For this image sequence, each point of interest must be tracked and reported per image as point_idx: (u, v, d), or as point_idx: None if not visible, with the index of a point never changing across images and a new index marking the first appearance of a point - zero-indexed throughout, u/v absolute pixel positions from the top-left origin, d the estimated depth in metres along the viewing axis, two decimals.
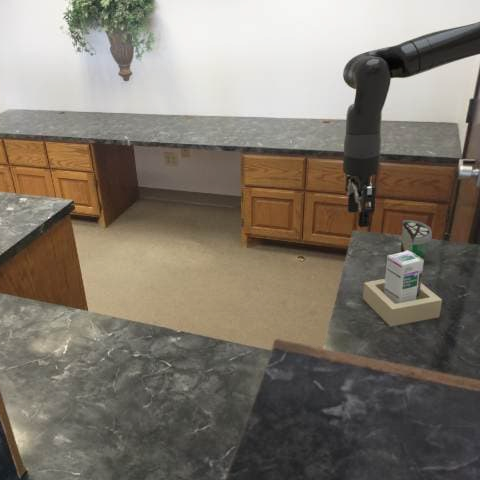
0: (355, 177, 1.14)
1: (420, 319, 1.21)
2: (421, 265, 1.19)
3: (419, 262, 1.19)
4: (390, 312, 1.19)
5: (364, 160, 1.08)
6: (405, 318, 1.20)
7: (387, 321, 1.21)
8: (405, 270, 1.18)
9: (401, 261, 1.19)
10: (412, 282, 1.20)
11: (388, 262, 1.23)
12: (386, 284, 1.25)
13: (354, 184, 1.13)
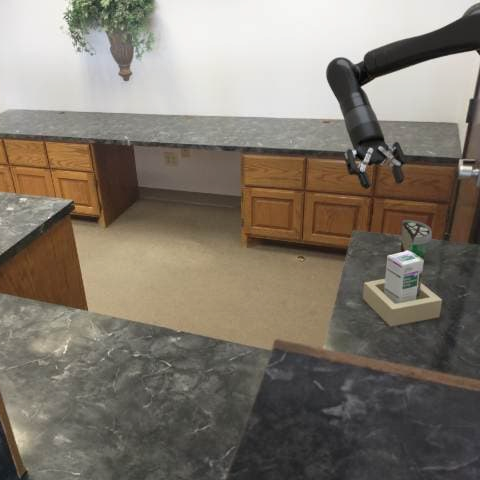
0: None
1: (420, 319, 1.21)
2: (421, 265, 1.19)
3: (419, 262, 1.19)
4: (390, 312, 1.19)
5: (349, 134, 1.29)
6: (405, 318, 1.20)
7: (387, 321, 1.21)
8: (405, 270, 1.18)
9: (401, 261, 1.19)
10: (412, 282, 1.20)
11: (388, 262, 1.23)
12: (386, 284, 1.25)
13: None
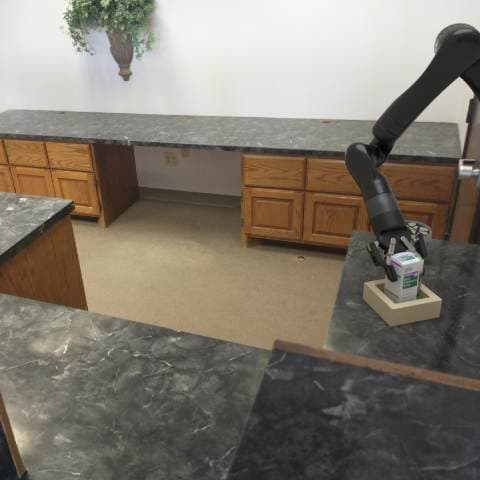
0: None
1: (420, 319, 1.21)
2: (421, 265, 1.19)
3: (419, 262, 1.19)
4: (390, 312, 1.19)
5: (371, 221, 1.26)
6: (405, 318, 1.20)
7: (387, 321, 1.21)
8: (405, 270, 1.18)
9: (401, 261, 1.19)
10: (412, 282, 1.20)
11: None
12: (386, 284, 1.25)
13: None
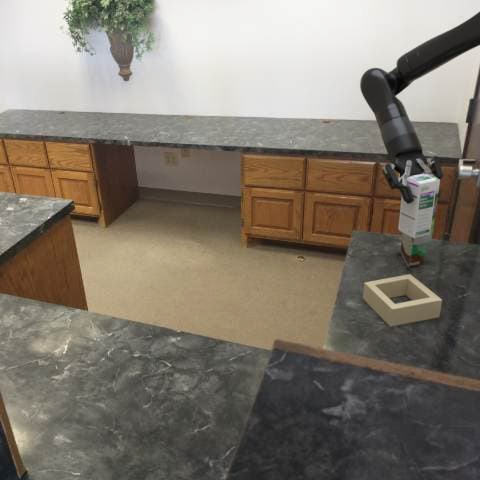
0: None
1: (420, 319, 1.21)
2: (437, 185, 1.20)
3: (435, 182, 1.19)
4: (390, 312, 1.19)
5: (386, 145, 1.27)
6: (405, 318, 1.20)
7: (387, 321, 1.21)
8: (421, 189, 1.19)
9: (417, 181, 1.19)
10: (428, 203, 1.21)
11: None
12: (402, 207, 1.26)
13: None
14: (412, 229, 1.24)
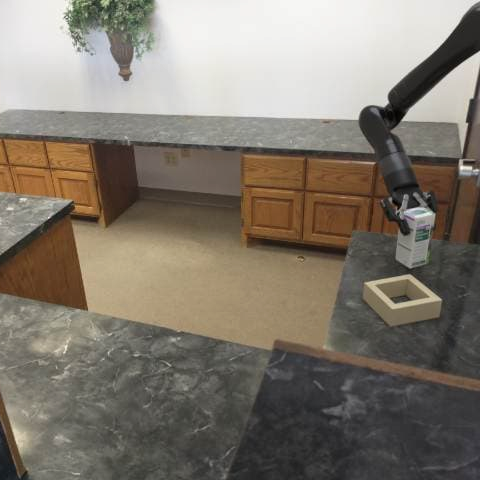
0: None
1: (420, 319, 1.21)
2: (433, 219, 1.25)
3: (431, 216, 1.25)
4: (390, 312, 1.19)
5: (384, 179, 1.33)
6: (405, 318, 1.20)
7: (387, 321, 1.21)
8: (417, 223, 1.25)
9: (413, 215, 1.25)
10: (424, 236, 1.27)
11: None
12: (399, 239, 1.32)
13: None
14: (409, 259, 1.30)
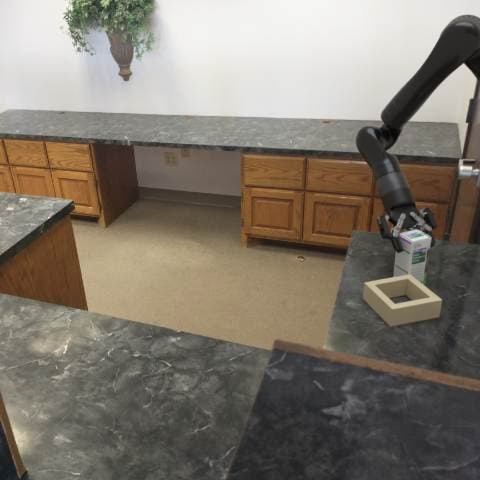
0: None
1: (420, 319, 1.21)
2: (429, 242, 1.28)
3: (427, 239, 1.28)
4: (390, 312, 1.19)
5: (382, 198, 1.35)
6: (405, 318, 1.20)
7: (387, 321, 1.21)
8: (414, 246, 1.28)
9: (410, 238, 1.28)
10: (421, 258, 1.30)
11: None
12: (396, 261, 1.35)
13: None
14: None
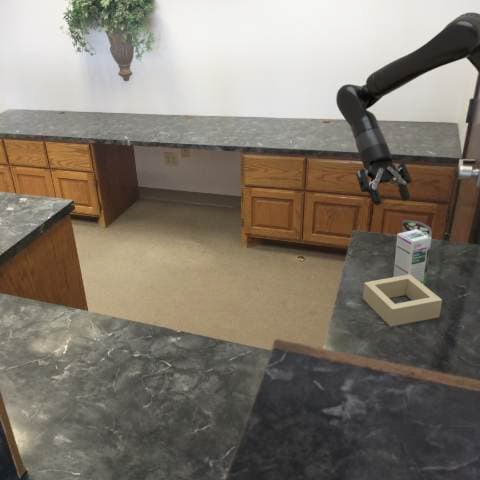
0: None
1: (420, 319, 1.21)
2: (429, 242, 1.28)
3: (427, 239, 1.28)
4: (390, 312, 1.19)
5: (361, 154, 1.41)
6: (405, 318, 1.20)
7: (387, 321, 1.21)
8: (414, 246, 1.28)
9: (410, 238, 1.28)
10: (421, 258, 1.30)
11: (398, 240, 1.32)
12: (396, 261, 1.35)
13: None
14: None
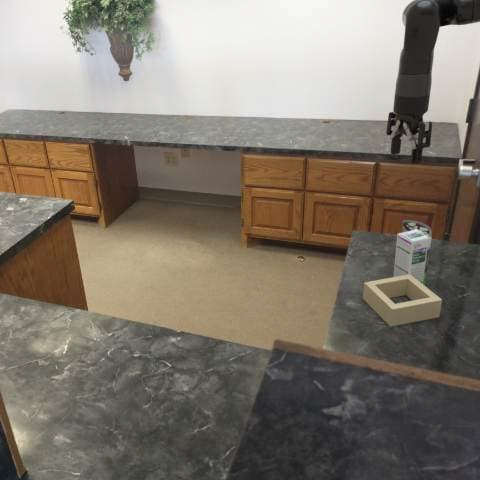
0: (405, 117, 1.22)
1: (420, 319, 1.21)
2: (429, 242, 1.28)
3: (427, 239, 1.28)
4: (390, 312, 1.19)
5: (419, 98, 1.17)
6: (405, 318, 1.20)
7: (387, 321, 1.21)
8: (414, 246, 1.28)
9: (410, 238, 1.28)
10: (421, 258, 1.30)
11: (398, 240, 1.32)
12: (396, 261, 1.35)
13: (406, 123, 1.21)
14: None
